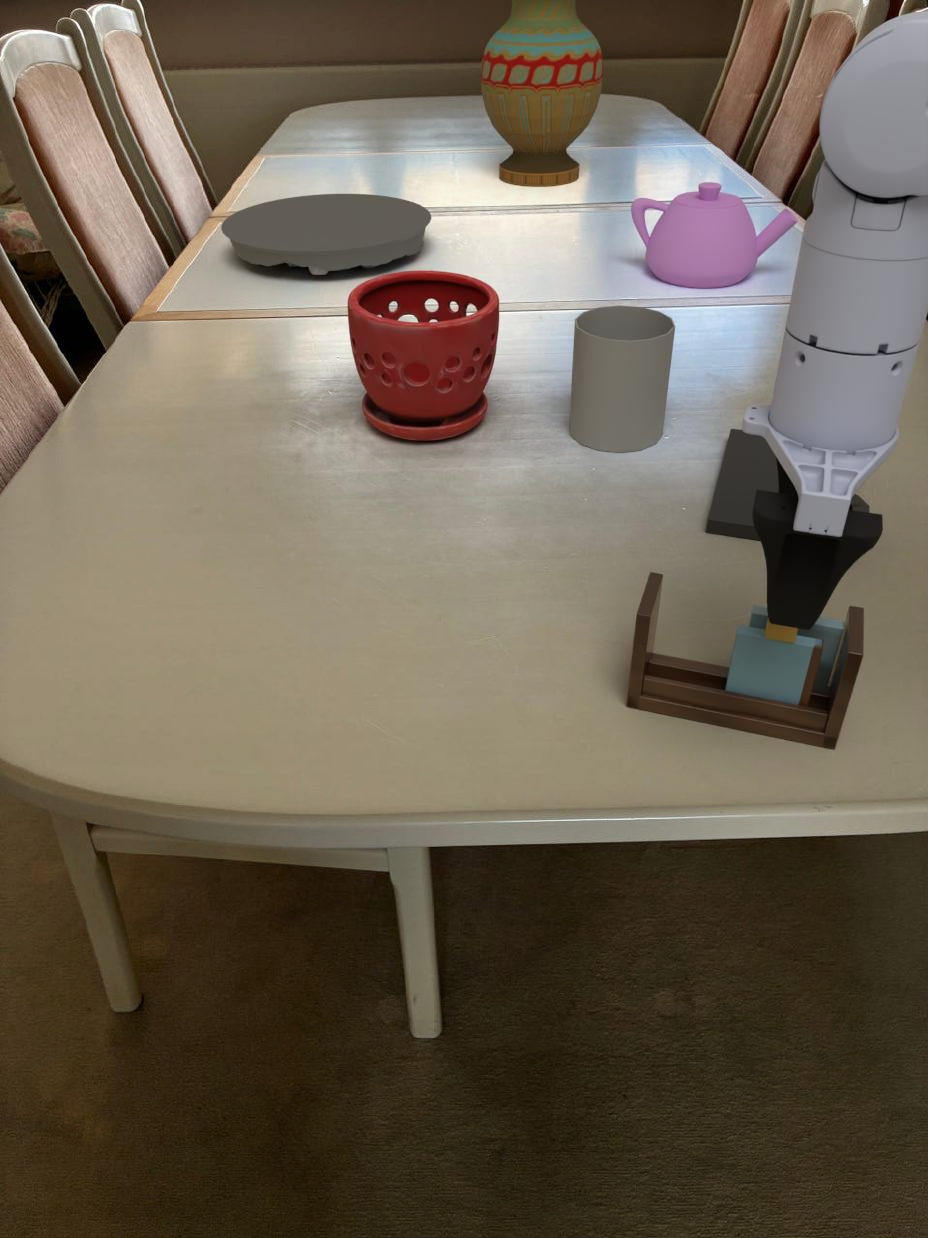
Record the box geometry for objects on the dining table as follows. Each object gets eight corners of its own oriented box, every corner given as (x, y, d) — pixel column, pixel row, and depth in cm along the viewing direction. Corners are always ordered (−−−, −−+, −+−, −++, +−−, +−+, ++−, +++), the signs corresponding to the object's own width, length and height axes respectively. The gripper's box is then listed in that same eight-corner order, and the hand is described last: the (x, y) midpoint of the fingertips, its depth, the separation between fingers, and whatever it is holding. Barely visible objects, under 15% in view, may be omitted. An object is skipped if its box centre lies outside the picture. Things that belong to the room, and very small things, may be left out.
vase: (619, 173, 165) (635, -37, 147) (549, 197, 153) (556, -29, 135) (529, 158, 176) (534, -40, 157) (457, 179, 164) (453, -33, 146)
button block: (728, 440, 85) (734, 409, 83) (861, 457, 82) (870, 425, 80) (702, 542, 72) (708, 507, 70) (859, 566, 69) (869, 531, 67)
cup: (667, 452, 83) (681, 340, 77) (573, 452, 84) (579, 341, 78) (654, 410, 90) (666, 304, 84) (566, 411, 90) (572, 305, 84)
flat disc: (423, 221, 143) (422, 189, 141) (442, 280, 121) (441, 244, 119) (234, 230, 141) (229, 198, 138) (218, 293, 119) (212, 256, 116)
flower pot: (331, 438, 87) (317, 307, 79) (398, 383, 96) (390, 261, 89) (463, 465, 82) (460, 328, 75) (519, 404, 92) (522, 278, 84)
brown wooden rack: (837, 700, 58) (864, 607, 54) (835, 750, 54) (863, 655, 50) (639, 662, 61) (650, 571, 57) (625, 706, 58) (636, 613, 53)
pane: (805, 705, 56) (833, 602, 51) (804, 717, 55) (833, 613, 50) (725, 689, 57) (745, 588, 52) (723, 700, 56) (743, 598, 52)
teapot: (787, 296, 114) (805, 202, 108) (619, 286, 118) (627, 194, 112) (786, 261, 125) (802, 173, 118) (632, 253, 129) (639, 167, 123)
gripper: (771, 274, 49) (731, 503, 58) (744, 385, 38) (700, 649, 47) (918, 285, 47) (855, 521, 56) (934, 406, 37) (853, 676, 45)
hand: (794, 581), depth 51 cm, fingers open, 7 cm apart
